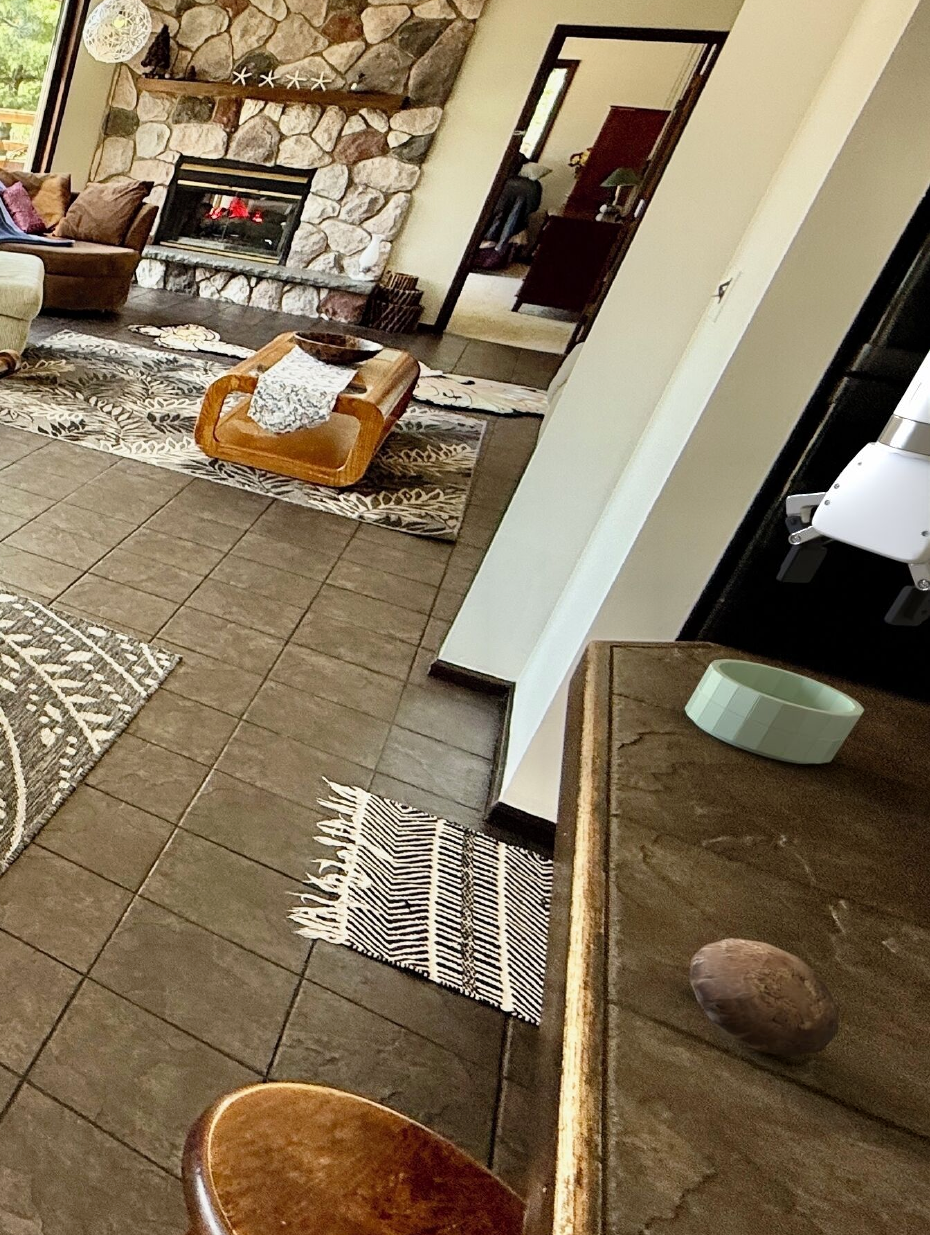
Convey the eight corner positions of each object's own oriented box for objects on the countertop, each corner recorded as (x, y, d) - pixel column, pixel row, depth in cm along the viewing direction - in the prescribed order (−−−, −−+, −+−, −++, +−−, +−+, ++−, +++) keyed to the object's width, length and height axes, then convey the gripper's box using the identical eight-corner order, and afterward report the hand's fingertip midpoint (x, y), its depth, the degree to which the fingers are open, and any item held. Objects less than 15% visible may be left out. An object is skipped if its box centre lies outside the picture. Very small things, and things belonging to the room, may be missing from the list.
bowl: (754, 713, 118) (784, 663, 115) (862, 772, 107) (898, 720, 105) (654, 704, 118) (682, 655, 115) (752, 763, 107) (785, 710, 105)
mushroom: (669, 920, 78) (752, 905, 73) (783, 999, 76) (878, 990, 70) (636, 1003, 76) (720, 994, 70) (754, 1088, 73) (850, 1085, 68)
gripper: (1100, 474, 91) (984, 644, 98) (870, 419, 107) (784, 568, 114) (1023, 470, 91) (912, 641, 97) (804, 415, 107) (722, 565, 113)
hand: (844, 601), depth 106 cm, fingers open, 9 cm apart
